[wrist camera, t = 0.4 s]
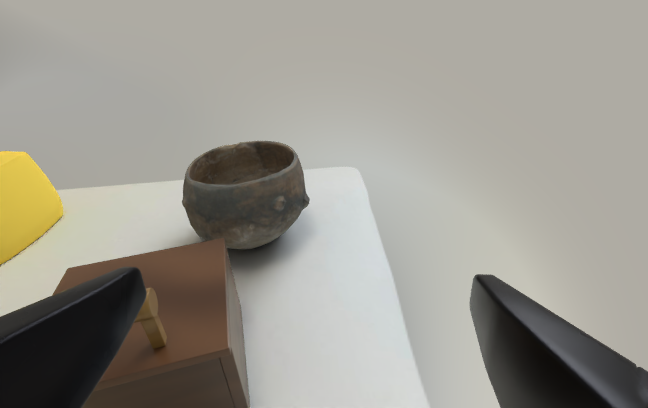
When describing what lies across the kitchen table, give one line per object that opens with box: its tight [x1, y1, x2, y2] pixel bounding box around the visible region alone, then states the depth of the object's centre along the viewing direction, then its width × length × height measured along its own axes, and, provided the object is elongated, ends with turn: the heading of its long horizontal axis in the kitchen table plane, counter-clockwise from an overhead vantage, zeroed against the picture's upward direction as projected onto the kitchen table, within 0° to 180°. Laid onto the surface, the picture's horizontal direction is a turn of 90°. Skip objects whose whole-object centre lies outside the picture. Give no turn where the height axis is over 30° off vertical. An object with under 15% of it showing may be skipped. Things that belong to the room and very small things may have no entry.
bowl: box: [182, 141, 310, 249], centre depth 40 cm, size 14×15×10 cm
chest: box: [82, 247, 250, 408], centre depth 25 cm, size 11×12×7 cm
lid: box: [52, 238, 231, 391], centre depth 22 cm, size 11×12×4 cm
